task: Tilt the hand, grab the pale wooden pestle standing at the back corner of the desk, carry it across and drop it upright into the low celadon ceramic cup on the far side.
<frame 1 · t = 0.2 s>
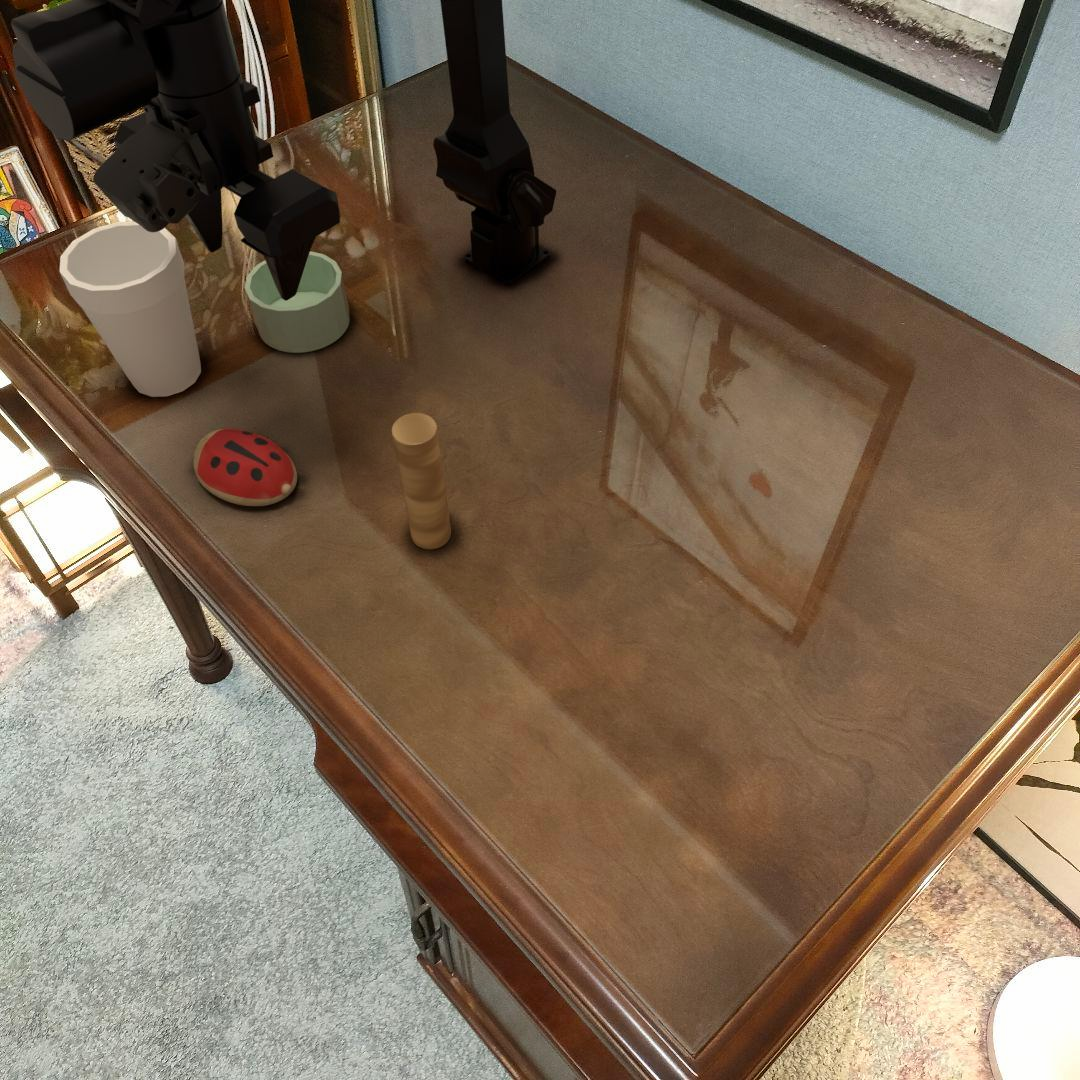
hand: (251, 272, 79), 15 cm above the table, tool pointing down, fingers open, 9 cm apart
ladybug figurine: (248, 478, 86), on the table
celadon cup: (304, 322, 98), on the table
pestle: (431, 534, 82), on the table
foam cup: (167, 374, 94), on the table
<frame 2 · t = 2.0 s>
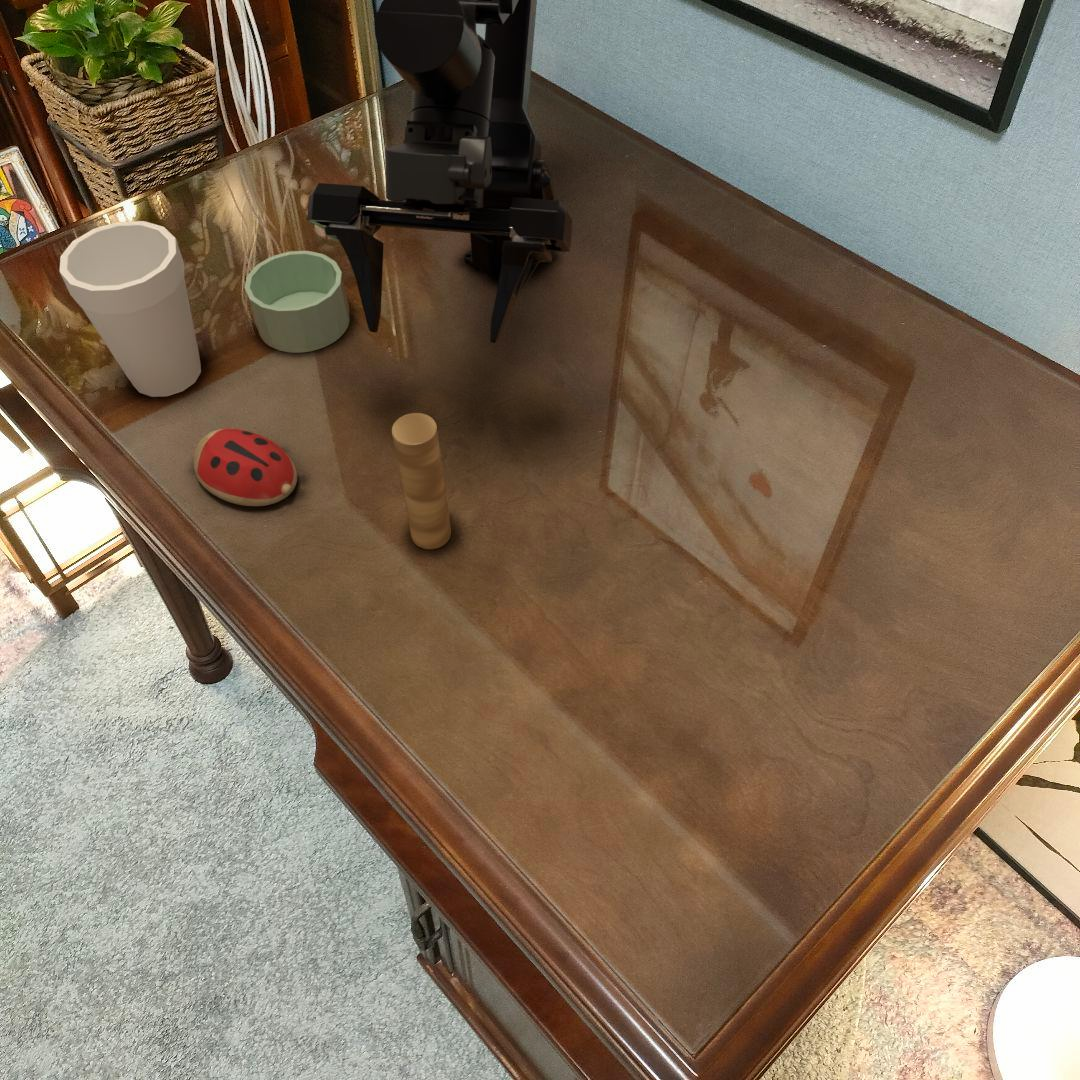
hand: (433, 337, 76), 13 cm above the table, tool tilted 45°, fingers open, 9 cm apart
nothing on the table moved.
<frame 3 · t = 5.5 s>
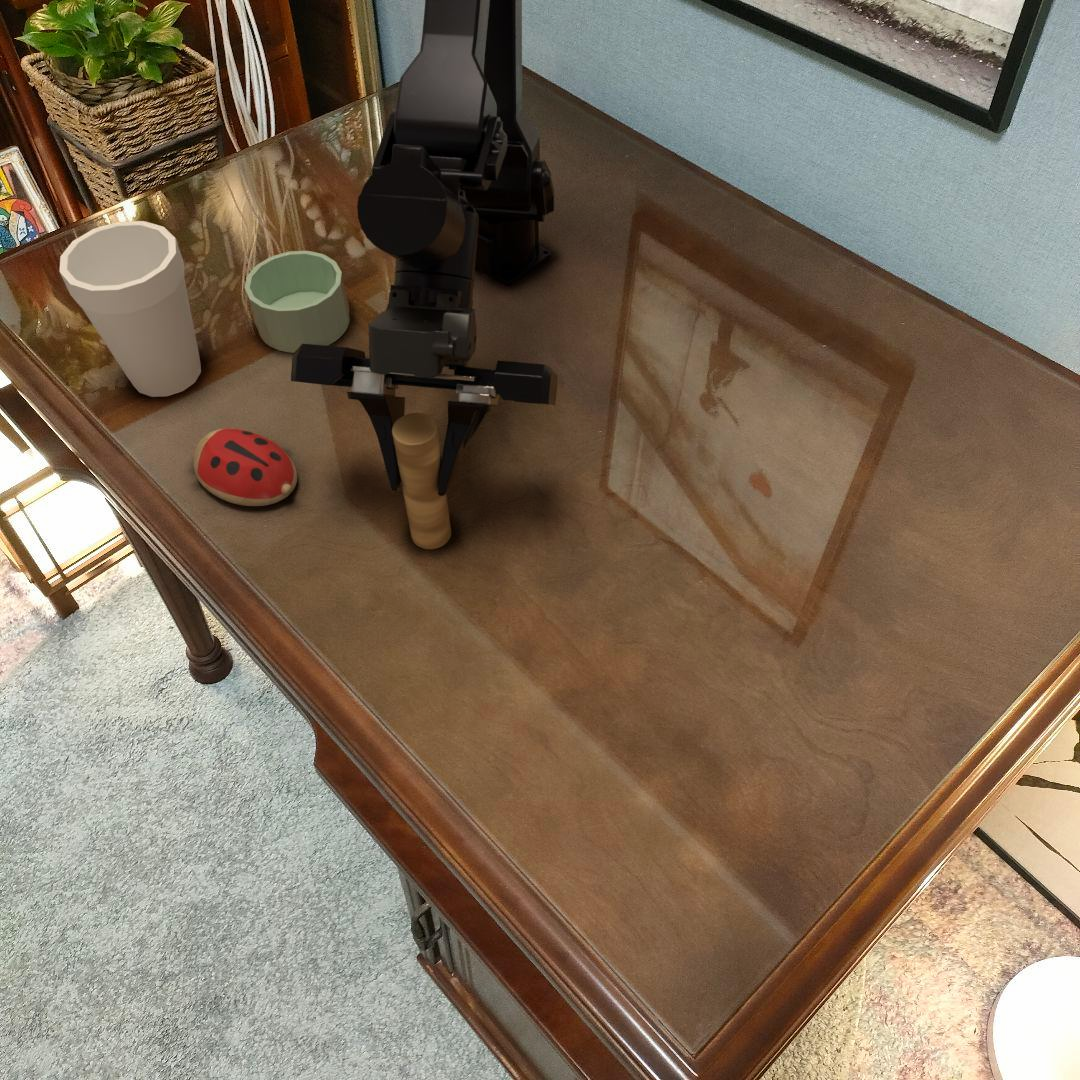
hand: (418, 493, 76), 7 cm above the table, tool tilted 45°, fingers closed on pestle, 3 cm apart
pestle: (431, 534, 82), on the table, touching gripper
everything else where it was.
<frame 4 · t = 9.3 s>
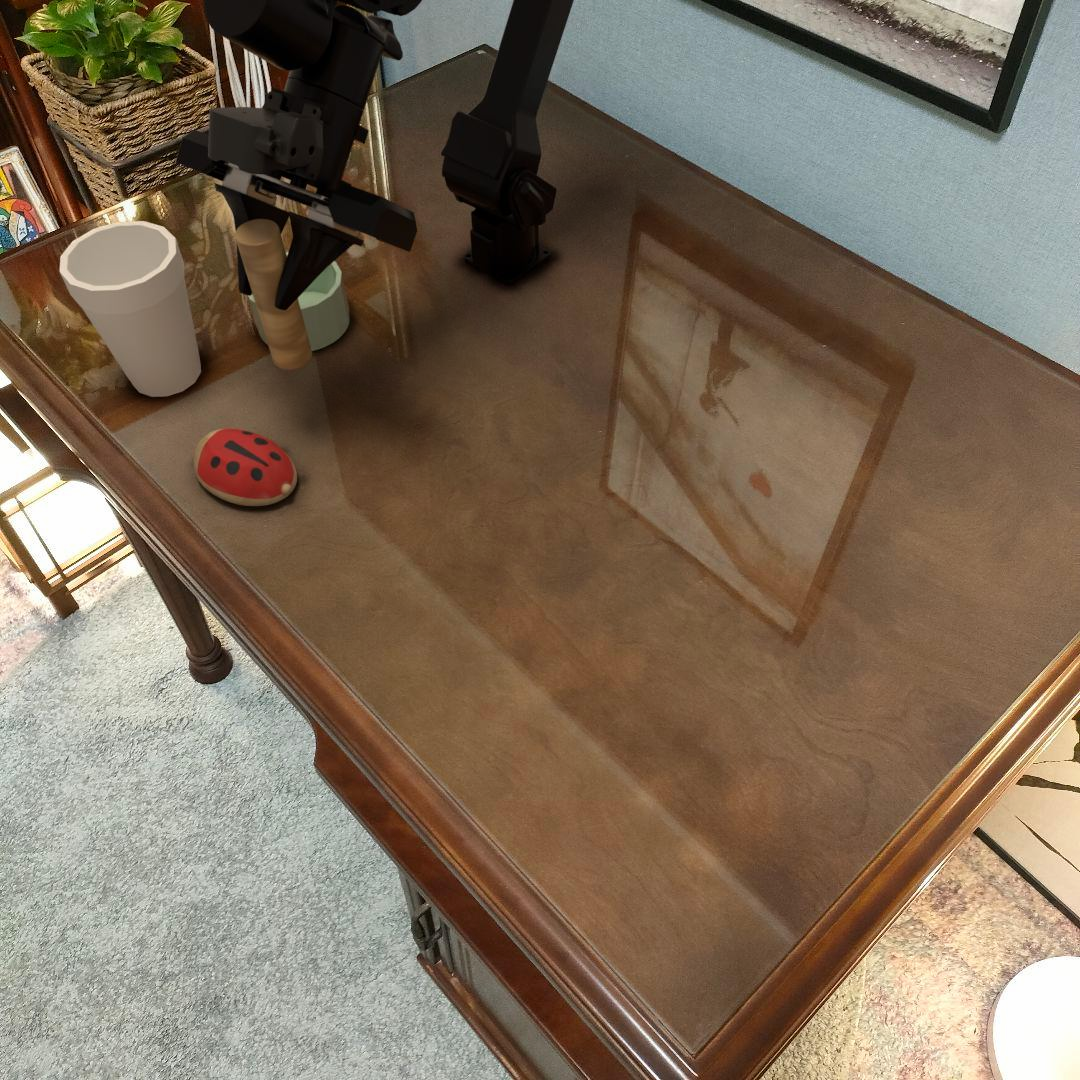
hand: (262, 301, 77), 14 cm above the table, tool tilted 45°, fingers closed on pestle, 3 cm apart
pestle: (292, 356, 83), point 8 cm above the table, touching gripper
everything else where it was.
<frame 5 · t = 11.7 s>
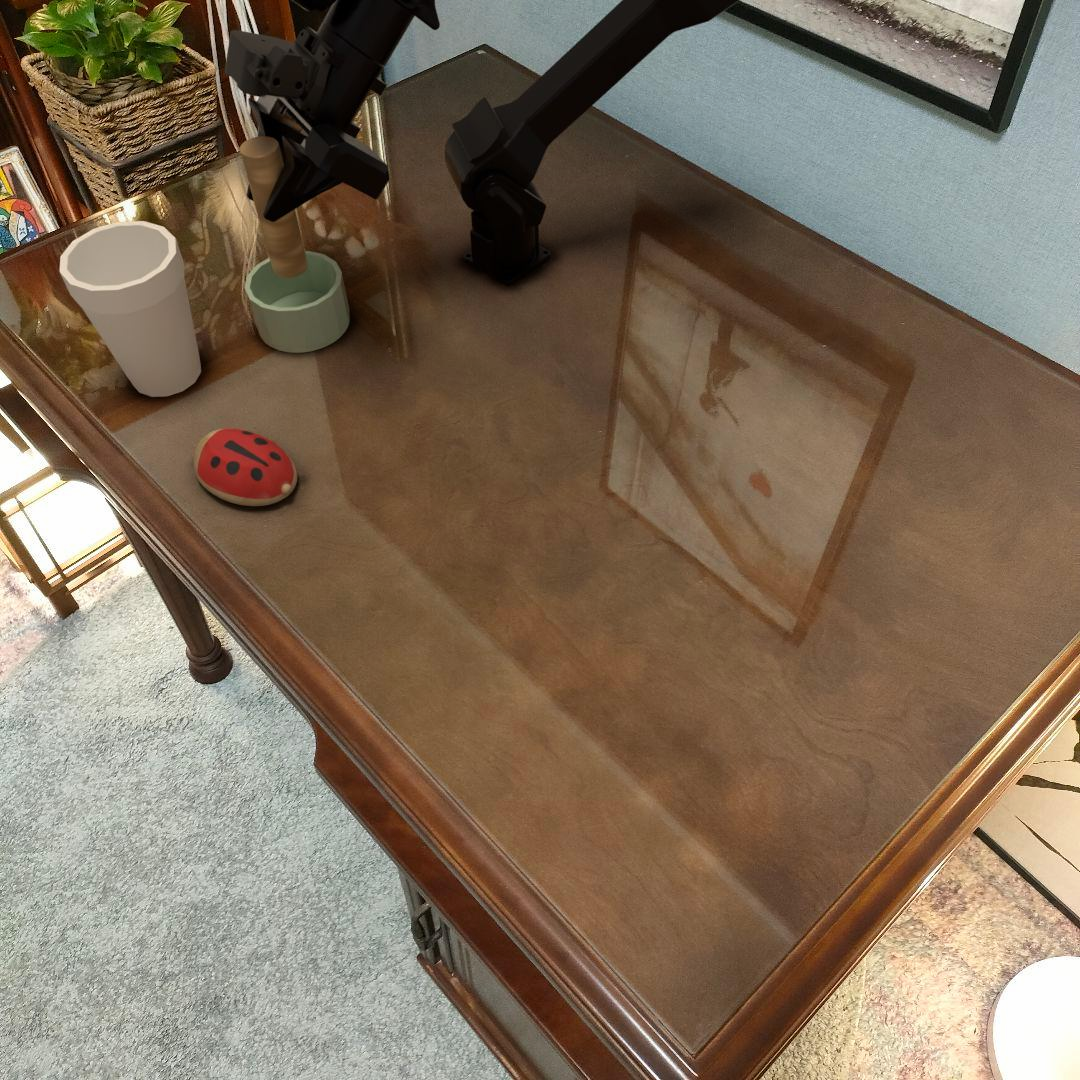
hand: (259, 209, 87), 13 cm above the table, tool tilted 45°, fingers closed on pestle, 3 cm apart
pestle: (290, 267, 93), point 6 cm above the table, touching gripper
everything else where it was.
when the fingers open (8 cm above the table, at t = 13.5 s): pestle stays where it is, resting on celadon cup.
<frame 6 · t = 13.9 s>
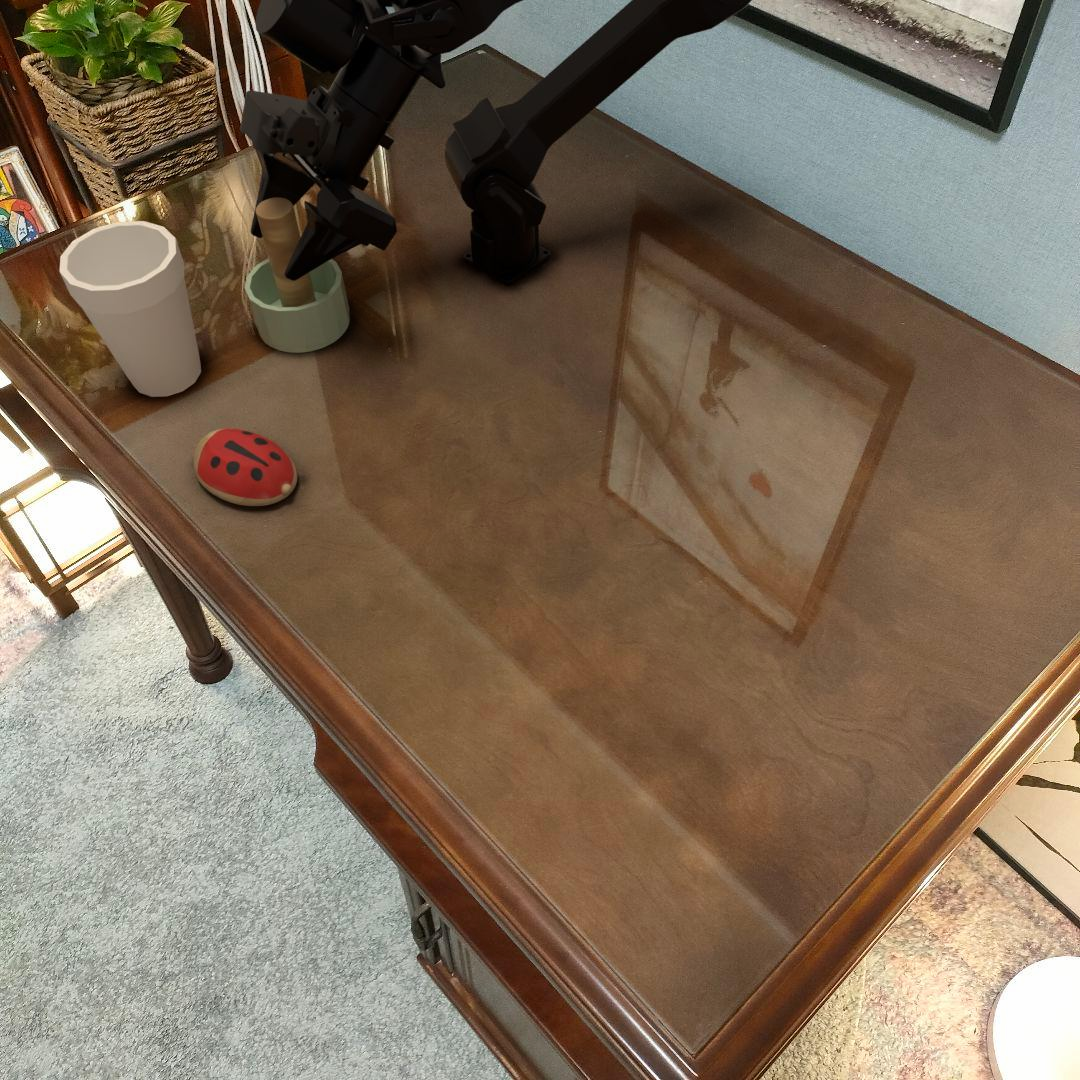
hand: (271, 256, 91), 8 cm above the table, tool tilted 45°, fingers open, 7 cm apart
pestle: (302, 317, 98), point 1 cm above the table, touching celadon cup
everything else where it was.
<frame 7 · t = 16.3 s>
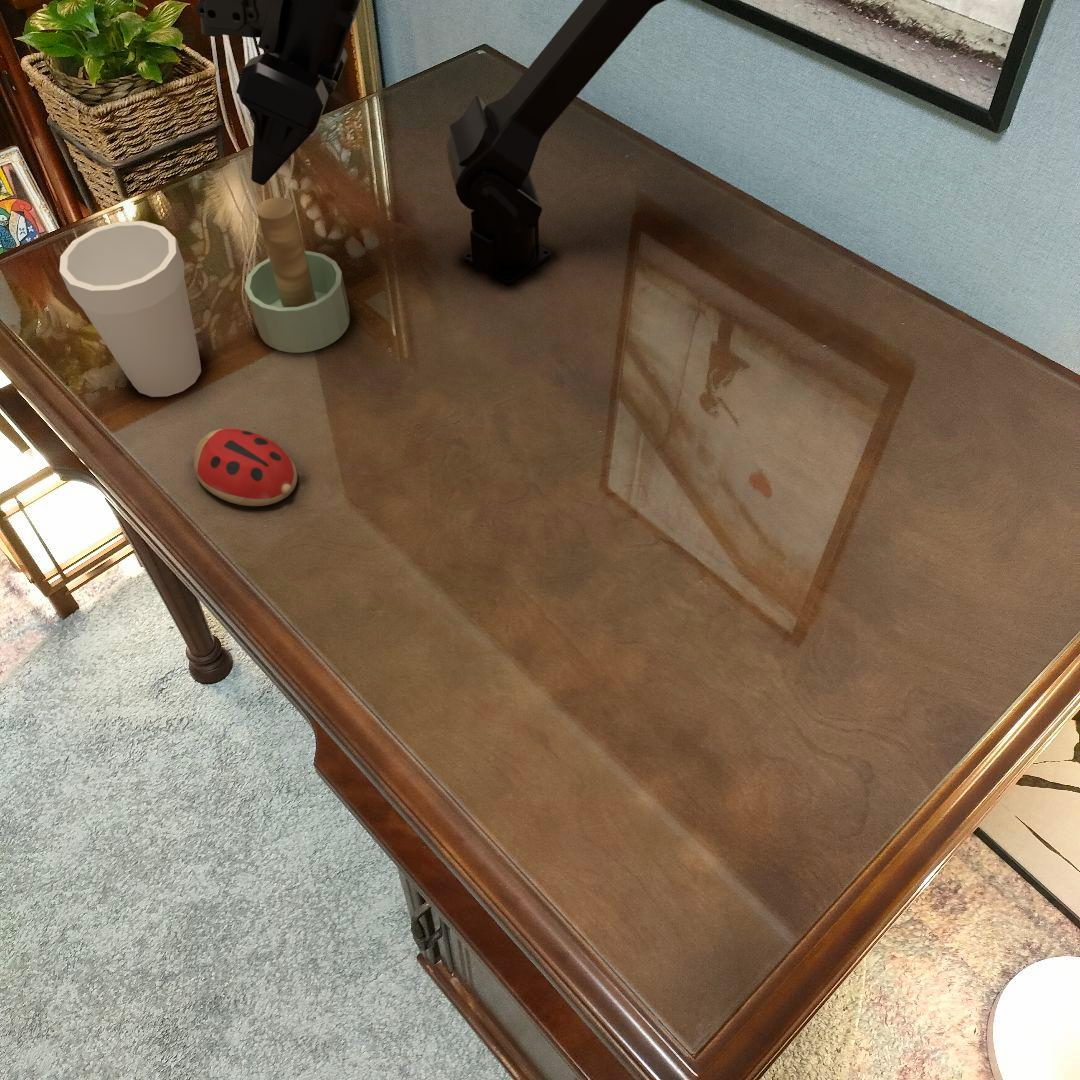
hand: (267, 165, 88), 15 cm above the table, tool tilted 30°, fingers open, 9 cm apart
nothing on the table moved.
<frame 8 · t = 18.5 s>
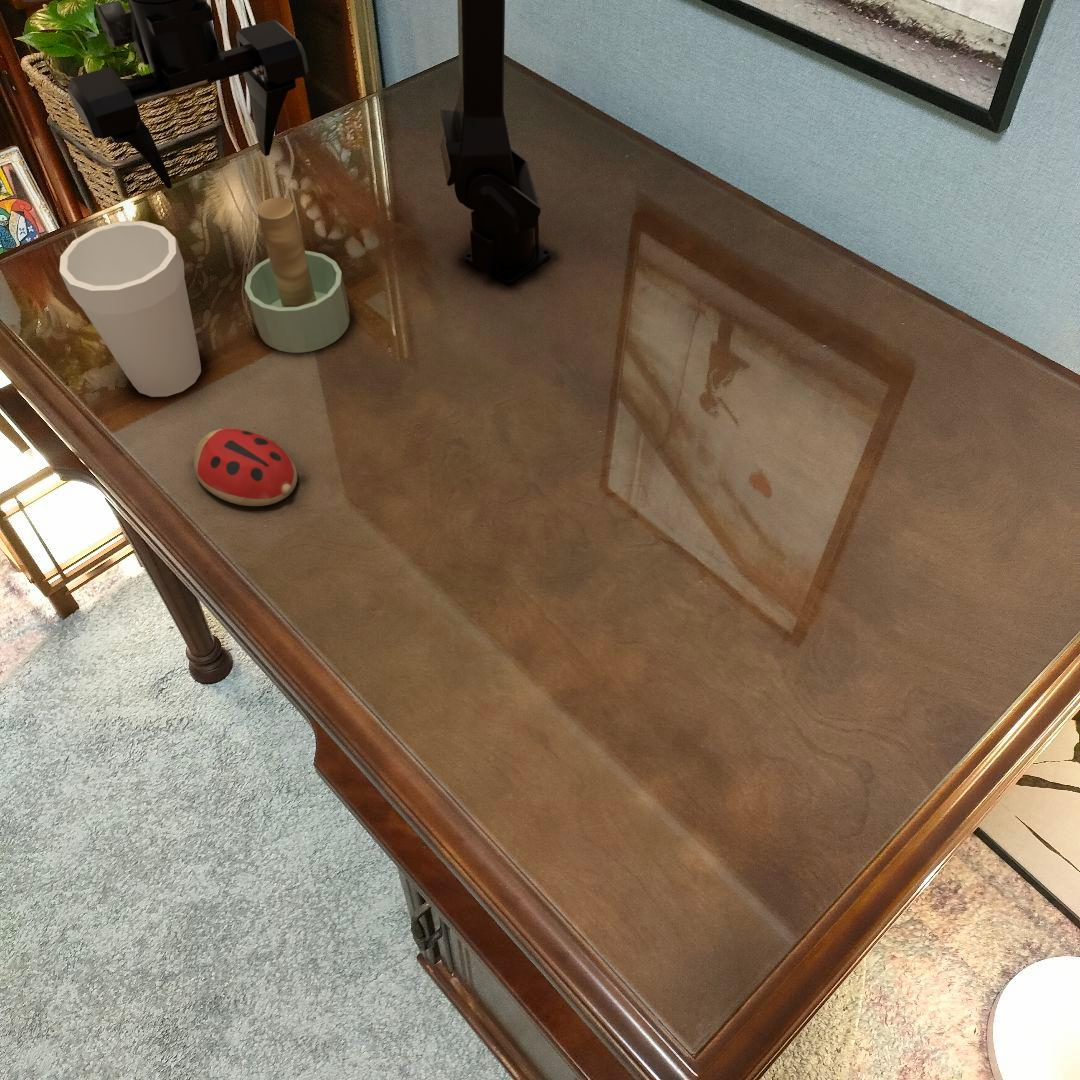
hand: (217, 169, 91), 13 cm above the table, tool pointing down, fingers open, 9 cm apart
nothing on the table moved.
at the end: pestle inside the target area in the celadon cup (0.0 cm from its centre), point 0.6 cm above the celadon cup's base; the gripper is holding nothing; pestle moved 29.7 cm from its start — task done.
